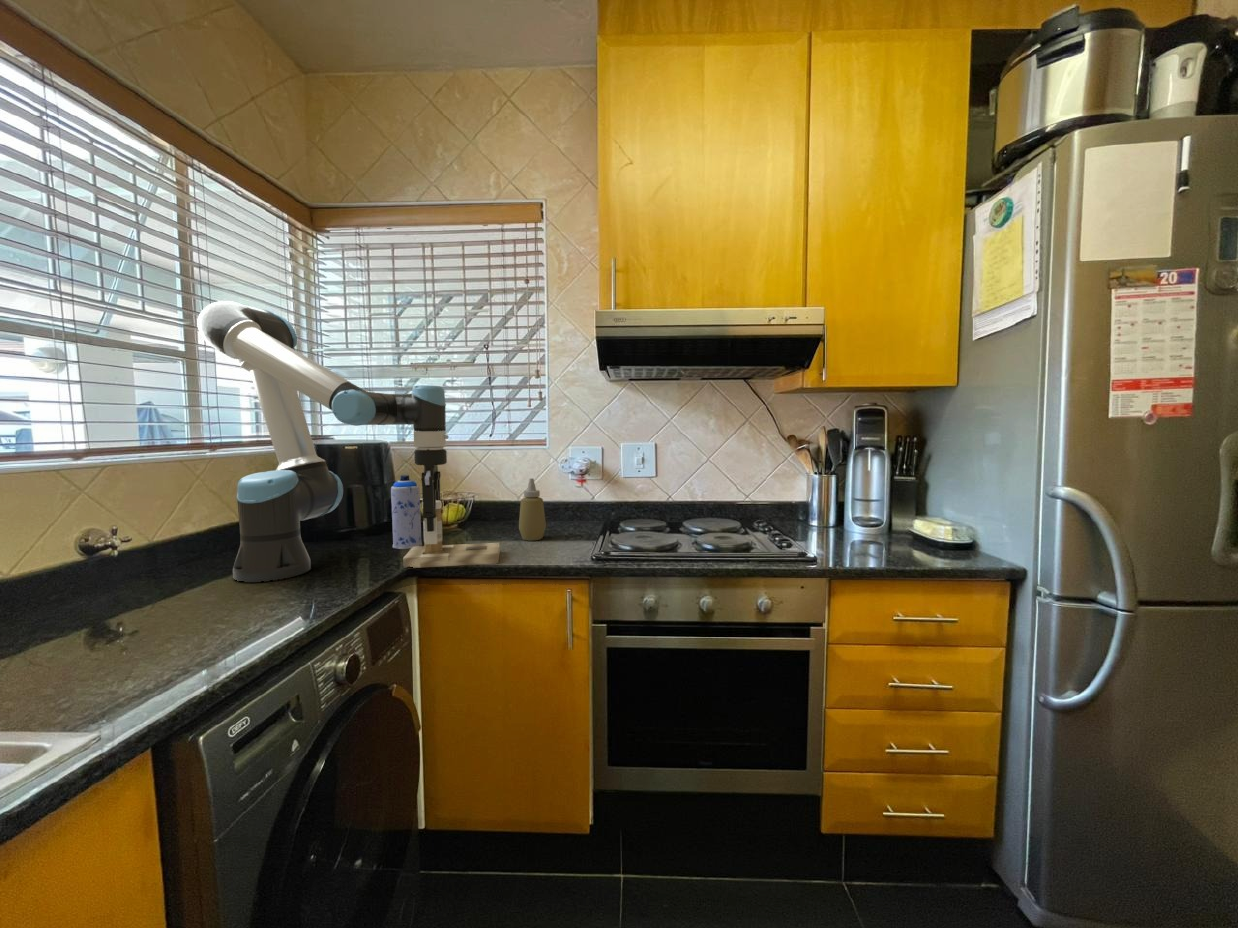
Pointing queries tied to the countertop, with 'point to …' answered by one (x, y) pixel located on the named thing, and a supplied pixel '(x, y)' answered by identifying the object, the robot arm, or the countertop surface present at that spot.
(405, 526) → the aerosol can
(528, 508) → the squeeze bottle
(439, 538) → the sprinkles bottle
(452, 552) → the holder block
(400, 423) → the robot arm
